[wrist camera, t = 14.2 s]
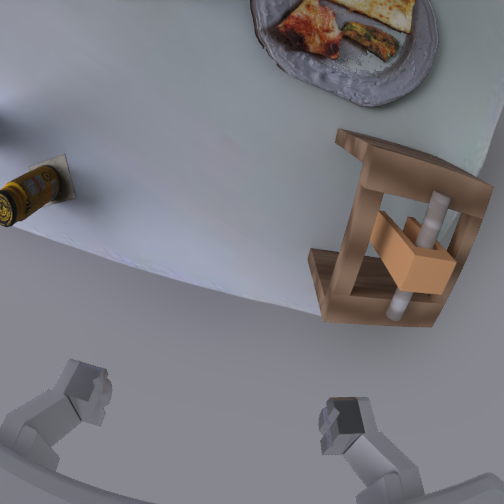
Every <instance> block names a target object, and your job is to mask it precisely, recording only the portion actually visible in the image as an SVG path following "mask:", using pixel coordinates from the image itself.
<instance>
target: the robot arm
mask: <svg viewBox="0 0 504 504" xmlns="http://www.w3.org/2000/svg"><path fill="white" fill-rule="evenodd" d="M107 376H108V372H107V369H105V368H101V367H98V366H94V365H91V364H87V363H83V362H81V361H77V360H74V359H69V360H68V361H67V362H66V364H65V366H64V368H63V370H62V372H61V374H60V375H59V377H58V379H57V381H56V383H55V385H54V387H53V389H52V390H50V389H48V390H47V391H45V392H43V393H42V394H40V395H38V396H37V397H35V398H33V399H32V400H30V401H28V402H27V403H25V404H23V405H22V406H20V407H18V408H17V409H15V410H13V411H12V412H10V413H8V414H7V415H6V418H5V419H4V421H3V424H2V425H1V428H0V504H155V503H150V502H146V501H142V500H138V499H134V498H130V497H126V496H123V495H119V494H116V493H112V492H109V491H106V490H103V489H100V488H97V487H94V486H91V485H88V484H86V483H83V482H80V481H78V480H75V479H72V478H69V477H67V476H65V475H62V474H60V473H58V472H56V469H57V466H58V463H59V460H60V458H59V456H58V455H57V454H56V453H55V452H54V450H53V449H52V448H51V447H52V446H53V445H54V444H55V443H57V442H58V441H59V440H60V439H62V438H63V437H64V436H65V435H66V434H68V433H69V432H70V431H71V430H72V429H74V428H75V427H76V426H77V425H78V424H80V423H81V421H84V422H86V423H90V424H93V425H97V426H101V424H102V422H103V419H104V416H105V410H104V407H105V406H106V405H108V404H109V402H110V399H111V395H112V384H111V381H110V380H108V378H107ZM326 405H327V407H325V408H323V409H322V411H321V413H320V416H319V431H320V432H321V433H322V434H323V435H324V436H323V437H322V439H321V440H320V442H321V450H322V455H341V454H343V457H344V458H345V459H346V461H347V462H348V463H349V464H350V466H351V467H352V468H353V470H354V471H355V472H356V474H357V475H358V476H359V478H360V479H361V480H362V481H363V483H364V484H365V485H366V486H367V488H366V489H365V490H364V491H362V492H360V493H359V494H358V495H357V496H356V502H357V504H504V481H502V480H501V479H500V478H499V477H497V476H496V475H494V474H493V473H490V472H489V473H488V472H487V473H484V474H482V475H479V476H477V477H474V478H472V479H469V480H467V481H464V482H462V483H459V484H456V485H454V486H451V487H448V488H445V489H442V490H439V491H435V492H432V493H429V494H426V495H425V494H424V489H423V485H422V481H421V477H420V473H419V469H418V467H417V466H416V465H415V464H414V463H413V462H412V461H411V460H410V459H409V458H408V457H407V456H406V455H405V454H403V452H401V451H400V450H399V449H398V448H397V447H396V446H395V445H394V444H393V443H392V442H391V441H390V440H389V439H388V438H387V437H386V436H385V435H384V434H383V433H382V432H378V429H377V426H376V422H375V418H374V414H373V411H372V407H371V404H370V400H369V398H368V397H343V398H342V397H337V398H329V399H328V400H327V402H326Z"/></svg>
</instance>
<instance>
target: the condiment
mask: <svg viewBox="0 0 504 504" xmlns="http://www.w3.org/2000/svg"><path fill="white" fill-rule="evenodd" d="M57 169H59V170H60V171H59V170H57ZM29 171H30V172H28V173H25V174H23V175H22V176H20V177H18V178H16V179H14V180H12V181H10V182H8V183H7V184H6V185H5V186H4V188H2V189H1V190H0V224H1V225H2V226H5V227H9V226H12V225H13V224H15V223H16V222H18V221H22V220H25V219H26V218H27V217H28V216H30V215H31V214H33V213H34V212H35V211H37V210H38V209H40V208H41V207H43V206H47V205H50V204H54V203H58V202H62V201H67V200H71V199H75V198H76V197H75V194H74V189H73V185H72V181H71V177H70V173H69V170H68V166H67V162H66V159H65V154H64V155H61V156H58V157H55V158H53V159H50V160H47V161H44V162H41V163H39V164H36V165H33V166H31V167H29Z"/></svg>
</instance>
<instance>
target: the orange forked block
mask: <svg viewBox="0 0 504 504" xmlns="http://www.w3.org/2000/svg"><path fill="white" fill-rule="evenodd" d="M421 226H422V225H421V224H420V223H419V222H418V221H417V220H416V219H415V218H412V217H408V218H407V221H406V224H405V227H404V230H403V232H402V230H401V229H400V228H399V227H398V226H397V225H396V224H395V222H394V221H393V220H392V219H391V218H390V217H389V216H388V215H387V214H386V212H385V211H380V210H379V211H378V215H377V218H376V221H375V224H374V227H373V231H372V234H371V237H370V240H369V241H370V242H371V244H372V245H373V247H374V248H375V250H376V252H377V253H378V255H379V256H380V258H381V260H382V261H383V263H384V264H385V266H386V268H387V269H388V271H389V273H390V274H391V276H392V278H393V279H394V281H395V283H396V284H397V286H398V288H399V290H400V291H408V292H418V293H428V294H438V295H442V293H443V291H444V289H445V286H446V284H447V282H448V280H449V278H450V276H451V274H452V272H453V270H454V267H455V265H456V263H457V262H456V261H455V260H454V259H453V257H452V256H451V255H450V254H449V253H448V252H447V251H446V250H445V249H444V248H443V247H442V246H441V245H440V243H439V242H438V241H437V240H436V242H435V244H434V247H433V249H427V248H422V247H416V246H414V245H415V243H416V240H417V237H418V235H419V232H420V229H421Z"/></svg>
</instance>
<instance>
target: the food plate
mask: <svg viewBox="0 0 504 504" xmlns="http://www.w3.org/2000/svg"><path fill="white" fill-rule="evenodd" d="M250 4H251V6H250V7H251V13H252V16H253V22H254V26H255V34H256V37H257V39H258V41H259V43H260V44H261V45H262V46H263V49H264V47H266V50H267V52H268V54H269V56H270V57H271V58H272V59H274V60H275V61H276V62H277V65H278V67H279V68H280V69H282V70H283V71H285V72H286V73H287V74H289V75H290V76H293V78H295V79H296V78H297V79H300V80H302V81H304V82H307V83H310V84H312V85H314V86H317V87H319V88H322V89H324V90H326V91H329V92H331V93H334V94H336V95H337V96H339V97H342V98H345V99H347V100H348V99H350V100H351V102H355V104H356V103H357V105H359V106H368V107H372V106H381V105H385V104H387V103H390V102H393V101H394V100H397V99H399V98H401V97H402V96H403V95H405V94H407V93H409V92H410V91H413V90H414V89H415V88H416V86H418V85H419V84H420V83H421V82H422V80H423V79H424V78H425V77H426V76H427V75H428V74H429V73H428V72H429V69H430V68H431V65H432V62H433V59H434V56H435V53H436V49H437V46H438V43H439V38H438V32H437V26H436V24H437V23H436V17H435V15H434V10H433V9H432V6H431V3H430V2H429V0H250ZM323 6H325V7H323ZM344 14H345V15H344ZM370 21H371V22H370ZM371 23H372V24H377V25H381V26H383V27H386V28H387V29H390V28H391V29H392V30H395V31H398V32H399V33H401V32H404V33H405V34H406V33H407V36H406V40H405V42H404V45H403V47H402V50H401V52H400V56H399V58H398V59H397V60H396V61H395V62H394V63H392V64H391V65H390V67H389V68H388V67H386V68H384V70H383V71H380V72H379V71H377V72H376V71H375V70H374V73H369V71H364V70H359V73H361V74H360V75H359V74H356V73H357V71H356V73H355V72H349V70H352V69H350V67H346V69H348V70H345V69H344V68H343V67H341V62H340V60H341V59H343V60H344V61H345V62H347V60H348V59H347V57H349V58H350V59H354V60H356V64H358V65H361V66H362V64H361V62H363V61H361V60H360V59H357V58H358V57H360V56H363V55H362V54H364V55H365V56H366V55H367V51H369V52H371V53H373V54H374V55H376V56H377V57H379V58H380V59H381V60H383V62H384V63H385V62H386V60H388V58H389V57H394V55H396V54H395V53H396V52H397V49H398V47H401V44H400V43H398V42H397V41H396V39H395V38H394V37H393V36H391V35H390V34H389V35H388V34H387V33H384V32H382V31H381V29H377V28H376V27H374V25H372V24H371ZM356 43H357V44H356ZM366 49H367V51H366ZM344 56H345V57H344ZM370 57H371V56H370ZM337 59H338V61H336V60H337ZM368 59H369V58H368ZM332 61H335V63H333V62H332ZM357 61H358V62H357ZM325 62H326V63H327V64H324V63H325ZM368 62H369V61H368ZM337 64H338V65H337ZM342 64H344V65H343V66H346V65H345V63H342ZM333 66H334V67H338V68H333ZM380 67H381V66H380ZM341 69H343V70H344V71H347V73H344V72H341V71H339V70H341ZM336 70H338V71H336ZM355 70H357V69H355ZM327 73H329V74H327ZM427 73H428V74H427Z"/></svg>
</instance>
